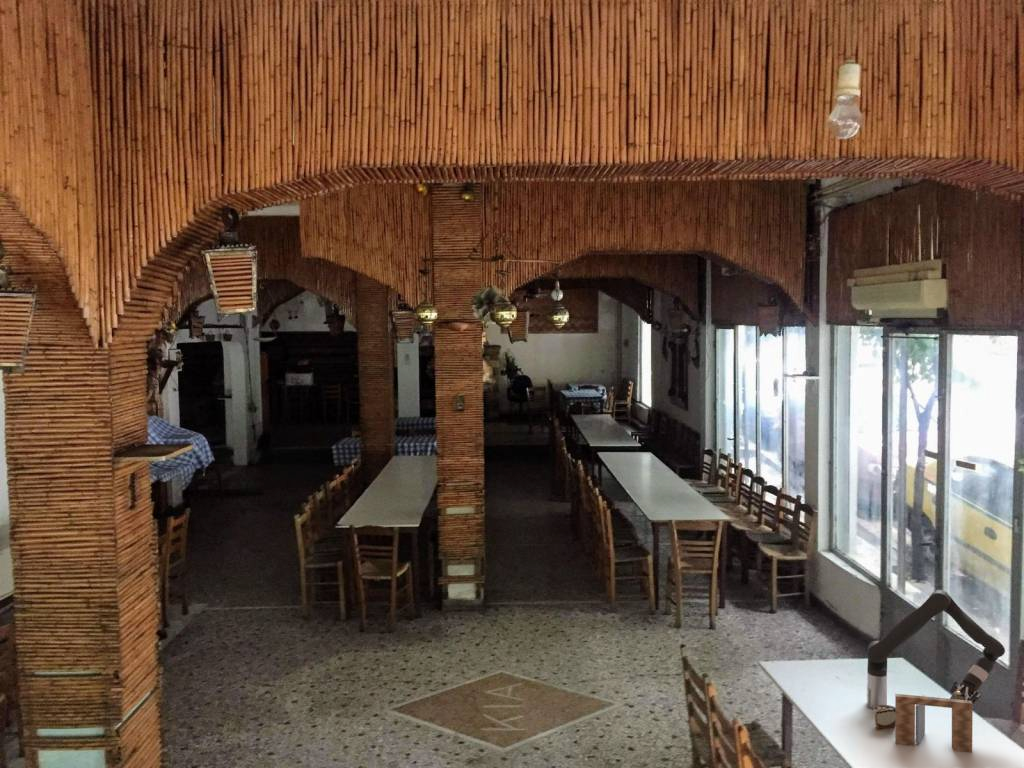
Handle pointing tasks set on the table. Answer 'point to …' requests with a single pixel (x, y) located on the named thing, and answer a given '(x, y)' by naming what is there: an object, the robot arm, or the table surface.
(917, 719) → the cabinet door
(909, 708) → the door frame
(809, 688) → the table surface
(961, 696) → the pepper mill
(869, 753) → the table surface
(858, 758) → the table surface
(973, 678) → the robot arm
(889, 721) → the food container
